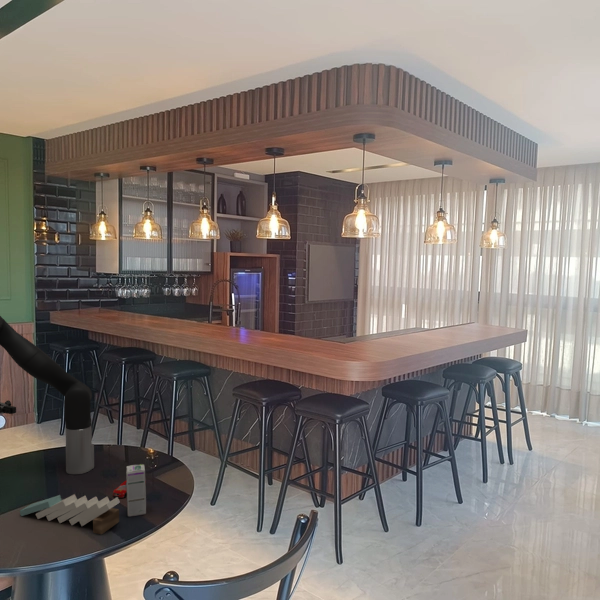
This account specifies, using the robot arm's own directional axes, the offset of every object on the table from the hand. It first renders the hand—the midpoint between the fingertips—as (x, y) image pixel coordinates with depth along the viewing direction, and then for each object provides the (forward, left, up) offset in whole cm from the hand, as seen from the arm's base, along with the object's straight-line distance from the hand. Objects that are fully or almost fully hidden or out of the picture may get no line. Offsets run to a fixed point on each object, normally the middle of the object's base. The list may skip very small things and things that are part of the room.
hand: (14, 410), depth 171 cm
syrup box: (-19, +41, -30) cm, 54 cm away
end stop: (-7, +43, -30) cm, 53 cm away
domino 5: (-4, +32, -29) cm, 44 cm away
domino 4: (-2, +28, -29) cm, 41 cm away
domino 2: (+1, +20, -29) cm, 36 cm away
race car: (-27, +26, -30) cm, 48 cm away
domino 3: (-1, +24, -29) cm, 38 cm away
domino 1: (+3, +14, -29) cm, 33 cm away
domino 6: (-5, +36, -29) cm, 46 cm away
